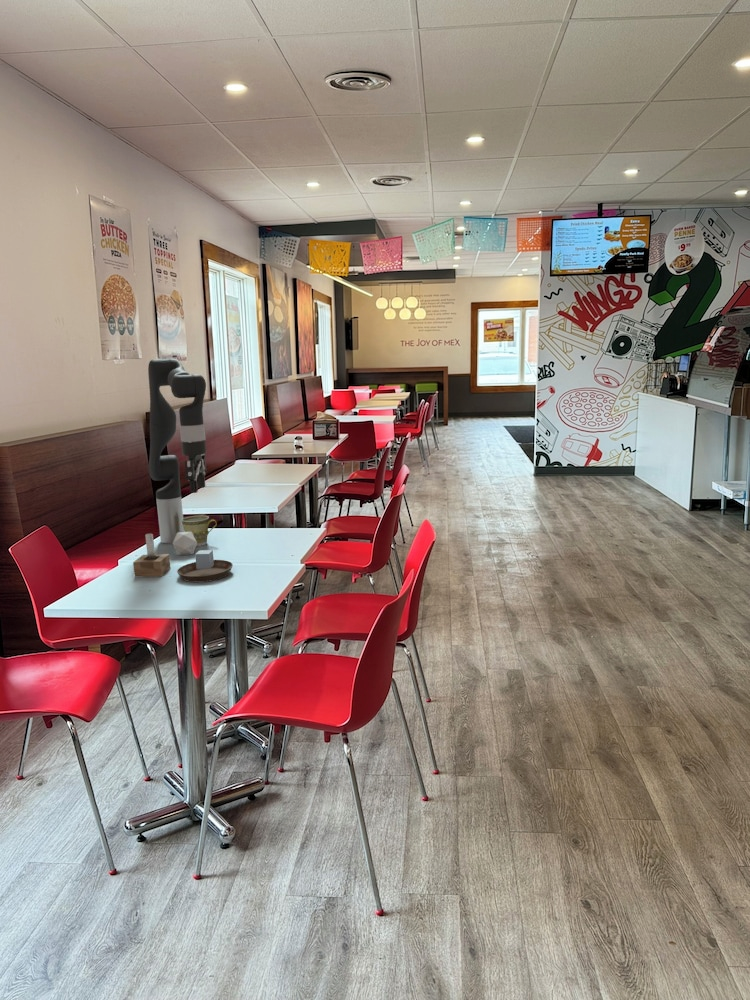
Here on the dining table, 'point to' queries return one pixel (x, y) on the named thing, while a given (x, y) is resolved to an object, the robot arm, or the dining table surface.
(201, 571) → the plant saucer
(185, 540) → the die
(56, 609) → the dining table surface
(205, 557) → the slate block
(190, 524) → the ceramic cup
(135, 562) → the bore block
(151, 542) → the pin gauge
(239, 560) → the dining table surface
